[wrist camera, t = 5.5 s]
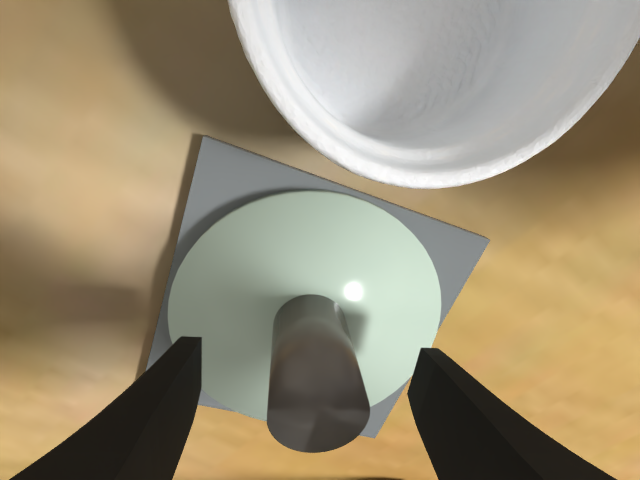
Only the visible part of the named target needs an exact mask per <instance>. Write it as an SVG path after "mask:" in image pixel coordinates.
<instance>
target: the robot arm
mask: <svg viewBox="0 0 640 480" xmlns="http://www.w3.org/2000/svg"><path fill="white" fill-rule="evenodd" d="M201 388H202V337H188V336H181V337H180V338H178V339H177V340H176V341H175V342H174V343H173V344H172V345H171V347H170V348H169V349H168V350H167V351H166V352H165V353H164V354H163V355H162V356H161V357H160V358H159V359H158V360H157V361H156V362H155V363H154V364H153V365H152V366H151V367H150V368H149V369H148V370H147V371H146V372H145V373H143V374H142V375H141V376H140V377H139V378H138V379H137V380H136V381H135V382H134V383H133V384H132V385H131V386H130V387H129V388H128V389H126V390H125V391H124V392H123V393H122V394H121V395H120V396H118V397H117V398H116V399H115V400H114V401H113V402H112V403H110V404H109V405H108V406H107V407H106V408H105V409H103V410H102V411H101V412H100V413H99V414H98V415H96V416H95V417H94V418H93V419H91V420H90V421H89V422H88V423H87V424H85V425H84V426H83V427H81V428H80V429H79V430H78V431H76V432H75V433H74V434H72V435H71V436H70V437H69V438H67V439H66V440H65V441H63V442H62V443H61V444H59V445H58V446H57V447H55V448H54V449H52V450H51V451H50V452H48V453H47V454H45V455H44V456H43V457H41V458H40V459H38V460H37V461H36V462H34V463H33V464H31V465H30V466H28V467H27V468H25V469H24V470H22V471H21V472H20V473H18V474H17V475H15V476H14V477H12V478H11V479H9V480H172V478H173V476H174V473H175V470H176V468H177V465H178V462H179V459H180V457H181V454H182V451H183V449H184V446H185V443H186V440H187V437H188V435H189V432H190V429H191V426H192V424H193V420H194V417H195V413H196V409H197V405H198V401H199V397H200V392H201ZM407 394H408V398H409V402H410V406H411V409H412V413H413V416H414V420H415V423H416V426H417V428H418V431H419V433H420V436H421V438H422V441H423V443H424V446H425V448H426V451H427V453H428V455H429V458H430V460H431V462H432V465H433V467H434V470H435V472H436V474H437V477H438V479H439V480H617V479H615V478H613V477H612V476H610V475H608V474H607V473H605V472H603V471H602V470H600V469H599V468H597V467H595V466H594V465H592V464H590V463H589V462H587V461H585V460H584V459H582V458H581V457H579V456H578V455H576V454H575V453H573V452H571V451H570V450H568V449H567V448H566V447H564V446H563V445H561V444H560V443H558V442H557V441H555V440H554V439H552V438H551V437H549V436H548V435H546V434H545V433H544V432H542V431H541V430H539V429H538V428H537V427H535V426H534V425H532V424H531V423H530V422H528V421H527V420H526V419H524V418H523V417H522V416H521V415H519V414H518V413H517V412H515V411H514V410H513V409H511V408H510V407H509V406H508V405H506V404H505V403H504V402H502V401H501V400H500V399H499V398H497V397H496V396H495V395H494V394H493V393H491V392H490V391H489V390H488V389H486V388H485V387H484V386H483V385H482V384H480V383H479V382H478V381H477V380H476V379H475V378H473V377H472V376H471V375H470V374H469V373H467V372H466V371H465V370H464V369H463V368H462V367H460V366H459V365H458V364H457V363H456V362H454V361H453V360H452V359H451V358H450V357H448V356H447V355H446V354H445V353H443V352H442V351H441V350H439V349H438V348H421V349H420V352H419V356H418V359H417V362H416V366H415V369H414V373H413V376H412V379H411V383H410V386H409V390H408V393H407Z"/></svg>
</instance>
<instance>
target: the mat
mask: <svg viewBox="0 0 640 480" xmlns="http://www.w3.org/2000/svg"><path fill="white" fill-rule="evenodd" d="M299 189H321V190H331V191H337V192H342V193H347V194H350V195H353V196H356V197H359V198H362V199H365V200H367V201H369V202H371V203H373V204H375V205H377V206H379V207H381V208H383V209H384V210H386V211H387V212H389V213H390V214H392V215H393V216H395V217H396V218H397V219H398V220H399V221H400V222H401V223H402V224H403V225H405V226H406V227H407V228H408V229H409V230H410V231H411V232H412V233H413V234H414V235H415V237H416V238H417V239H418V240H419V241H420V243H421V244H422V245H423V246H424V248H425V250H426V251H427V253H428V255H429V257H430V258H431V260H432V262H433V265H434V268H435V270H436V273H437V276H438V280H439V285H440V290H441V314H440V321H439V325H438V329H439V327H440V326H441V324H442V322H443V321H444V319H445V317H446V315H447V314H448V312H449V310H450V309H451V307H452V305H453V303H454V302H455V300H456V298H457V296H458V295H459V293H460V291H461V290H462V288H463V286H464V284H465V283H466V281H467V279H468V278H469V276H470V274H471V272H472V271H473V269H474V267H475V266H476V264H477V262H478V260H479V259H480V257H481V255H482V254H483V252H484V250H485V248H486V247H487V245H488V243H489V242H490V240H489V239H488V238H486V237H484V236H482V235H479V234H476V233H473V232H471V231H468V230H465V229H462V228H460V227H457V226H454V225H451V224H449V223H446V222H443V221H440V220H438V219H435V218H432V217H429V216H427V215H424V214H421V213H418V212H416V211H413V210H410V209H407V208H405V207H402V206H399V205H396V204H394V203H391V202H388V201H385V200H383V199H380V198H377V197H374V196H372V195H369V194H366V193H363V192H361V191H358V190H355V189H352V188H350V187H347V186H344V185H341V184H339V183H336V182H333V181H330V180H328V179H325V178H322V177H319V176H317V175H314V174H311V173H308V172H306V171H303V170H300V169H297V168H295V167H292V166H289V165H287V164H284V163H281V162H278V161H276V160H273V159H270V158H267V157H265V156H262V155H259V154H256V153H254V152H251V151H248V150H245V149H243V148H240V147H237V146H234V145H232V144H229V143H226V142H223V141H221V140H218V139H215V138H212V137H210V136H207V135H205V136H203V139H202V143H201V147H200V151H199V155H198V159H197V163H196V167H195V171H194V175H193V179H192V183H191V188H190V192H189V196H188V200H187V204H186V208H185V212H184V216H183V220H182V224H181V228H180V233H179V237H178V241H177V245H176V249H175V253H174V257H173V261H172V265H171V269H170V273H169V277H168V282H167V286H166V290H165V294H164V298H163V302H162V306H161V310H160V314H159V318H158V322H157V327H156V331H155V335H154V339H153V343H152V347H151V351H150V355H149V359H148V363H147V367H146V371H147V370H148V369H149V368H150V367H151V366H152V365H153V364H154V363H155V362H156V361H157V360H158V359H159V358H160V357H161V356H162V355H163V354H164V353H165V352H166V351H167V350H168V349H169V348H170V347H171V345H172V341H171V337H170V334H169V326H168V301H169V296H170V292H171V287H172V284H173V281H174V279H175V276H176V274H177V271H178V269H179V267H180V265H181V264H182V262H183V260H184V258H185V257H186V255H187V253H188V252H189V251H190V249H191V248H192V246H193V245H194V244H195V243H196V242H197V240H198V239H199V238H200V237H201V235H202V234H203V233H204V232H205V231H206V230H207V229H208V228H209V227H211V226H212V225H213V224H214V223H215V222H216V221H217V220H219V219H220V218H221V217H223V216H224V215H226V214H227V213H229V212H230V211H232V210H233V209H235V208H237V207H239V206H241V205H243V204H245V203H247V202H249V201H251V200H254V199H257V198H260V197H263V196H266V195H268V194H273V193H278V192H283V191H287V190H299ZM437 331H438V330H437ZM146 371H145V372H146ZM409 379H410V378H409ZM409 379H408V380H407V381H406V382H405V383H404V384H403V385H402V386H401V387H400V388H398V389H397V390H396V391H395V392H394V393H392V394H391V395H389V396H388V397H387V398H385V399H384V400H382V401H380V402H379V403H377V404H375V405H373V406H371V407H370V417H369V420H368V423H367V425H366V426H365V428H364V429H363V431H362V432H361V433H360V434H359V435H360V436H366V437H371V438H375V437H376V436H377V434H378V432H379V430H380V429H381V427H382V425H383V424H384V422H385V420H386V418H387V417H388V415H389V413H390V412H391V410H392V408H393V406H394V405H395V403H396V401H397V400H398V398H399V396H400V394H401V393H402V391H403V389H404V388H405V386H406V384H407V382H408V381H409ZM198 405H202V406H207V407H213V408H218V409H223V410H228V411H234V410H232V409H230V408H228V407H226V406H224V405H222V404H221V403H219V402H218V401H216V400H215V399H213V398H212V397H210V396H209V395H208V394H207V393H206V392H204V391H203V390H202V389H201V392H200V397H199V401H198ZM234 412H236V411H234Z"/></svg>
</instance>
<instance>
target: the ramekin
mask: <svg viewBox="0 0 640 480" xmlns="http://www.w3.org/2000/svg"><path fill="white" fill-rule="evenodd" d="M228 4H229V9H230V14H231V17H232V20H233V22H234V25H235V27H236V31H237V35H238V37H239V40H240V42H241V45H242V48H243V51H244V53H245V56H246V59H247V60H248V62H249V64H250V65H251V67H252V69H253V71H254V73H255V75H256V77H257V79H258V81H259V83H260V85H261V86H262V88H263V90H264V91H265V93H266V94H267V96H268V97H269V99H270V100H271V102H272V103H273V105H274V106H275V108H276V109H277V110H278V112H279V113H280V114H281V115H282V117H283V118H284V119H285V120H286V121H287V122H288V124H289V125H290V126H291V127H292V128H293V129H294V130H295V131H296V132H297V133H298V134H299V135H300V136H301V137H302V138H303V139H304V140H305V141H306V142H307V143H309V144H310V145H311V146H312V147H313V148H315V149H316V150H317V151H318V152H320V153H321V154H322V155H324V156H325V157H327V158H328V159H329V160H331V161H332V162H333V163H335V164H337V165H338V166H341V167H343V168H345V169H346V170H348V171H350V172H352V173H354V174H356V175H359V176H363V177H364V178H367V179H370V180H373V181H377V182H380V183H383V184H389V185H394V186H398V187H406V188H415V189H438V188H446V187H454V186H460V185H465V184H470V183H474V182H477V181H482V180H484V179H487V178H490V177H493V176H495V175H498V174H501V173H503V172H506V171H507V170H509V169H511V168H513V167H515V166H517V165H519V164H521V163H523V162H525V161H526V160H528V159H529V158H531V157H533V156H534V155H536V154H537V153H539V152H541V151H542V150H544V149H545V148H547V147H548V146H549V145H551V144H552V143H554V142H555V141H556V140H557V139H559V138H560V137H561V136H562V135H563V134H564V133H566V132H567V131H568V130H569V129H570V128H571V127H572V126H573V125H574V124H575V123H576V122H577V121H579V120H580V119H581V117H582V116H583V115H584V114H585V113H586V112H587V111H588V110H589V109H590V107H591V106H592V105H593V104H594V103H595V102H596V101H597V100H598V98H599V97H600V96H601V95H602V94H603V92H604V91H605V90H606V89H607V88H608V86H609V85H610V84H611V83H612V82H613V79H614V78H615V77H616V75H617V73H618V72H619V71H620V70H621V68H622V66H623V65H624V63H625V62H626V60H627V59H628V58H629V55H630V54H631V52H632V51H633V49H634V47H635V45H636V43H637V42H638V40H639V38H640V0H228Z"/></svg>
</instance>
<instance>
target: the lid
mask: <svg viewBox="0 0 640 480" xmlns="http://www.w3.org/2000/svg"><path fill="white" fill-rule="evenodd" d="M440 314H441V290H440V285H439V280H438V276H437V273H436V270H435V268H434V265H433V262H432V260H431V258H430V257H429V255H428V253H427V251H426V250H425V248H424V246H423V245H422V244H421V243H420V241H419V240H418V239H417V238H416V237H415V235H414V234H413V233H412V232H411V231H410V230H409V229H408V228H407V227H406V226H405V225H403V224H402V223H401V222H400V221H399V220H398V219H397V218H396V217H395V216H393V215H392V214H390V213H389V212H387V211H386V210H384V209H383V208H381V207H379V206H377V205H375V204H373V203H371V202H369V201H367V200H365V199H362V198H359V197H356V196H353V195H350V194H347V193H342V192H337V191H331V190H321V189H299V190H287V191H283V192H278V193H273V194H268V195H266V196H263V197H260V198H257V199H254V200H251V201H249V202H247V203H245V204H243V205H241V206H239V207H237V208H235V209H233V210H232V211H230V212H229V213H227V214H226V215H224V216H223V217H221V218H220V219H219V220H217V221H216V222H215V223H214V224H213V225H212V226H211V227H209V228H208V229H207V230H206V231H205V232H204V233H203V234H202V235H201V237H200V238H199V239H198V240H197V242H196V243H195V244H194V245H193V246H192V248H191V249H190V251H189V252H188V253H187V255H186V257H185V258H184V260H183V262H182V264H181V265H180V267H179V269H178V271H177V274H176V276H175V279H174V281H173V284H172V287H171V292H170V296H169V301H168V326H169V334H170V337H171V341H172V344H173V343H174V342H175V341H176V340H177V339H178V338H180V337H181V336H188V337H202V388H201V389H202V390H203V391H204V392H206V393H207V394H208V395H209V396H210V397H212V398H213V399H215V400H216V401H218V402H219V403H221V404H222V405H224V406H226V407H228V408H230V409H232V410H234V411H236V412H238V413H241V414H243V415H246V416H249V417H252V418H256V419H259V420H263V421H267V425H268V428H269V431H270V432H271V434H272V436H273V437H274V438H275V439H276V440H277V441H278V442H279V443H281V444H282V445H284V446H286V447H288V448H290V449H293V450H296V451H300V452H308V453H318V452H326V451H330V450H334V449H337V448H339V447H342V446H344V445H346V444H348V443H349V442H351V441H352V440H354V439H355V438H356V437H357V436H358V435H359V434H360V433H361V432H362V431H363V429H364V428H365V426H366V425H367V423H368V420H369V417H370V407H371V406H373V405H375V404H377V403H379V402H380V401H382V400H384V399H385V398H387V397H388V396H389V395H391V394H392V393H394V392H395V391H396V390H397V389H398V388H400V387H401V386H402V385H403V384H404V383H405V382H406V381H407V380H408V379H409V378H410V377H411V376H412V375H413V373H414V369H415V366H416V362H417V359H418V356H419V352H420V349H421V348H431V346H432V344H433V341H434V339H435V336H436V334H437V330H438V325H439V321H440Z"/></svg>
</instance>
